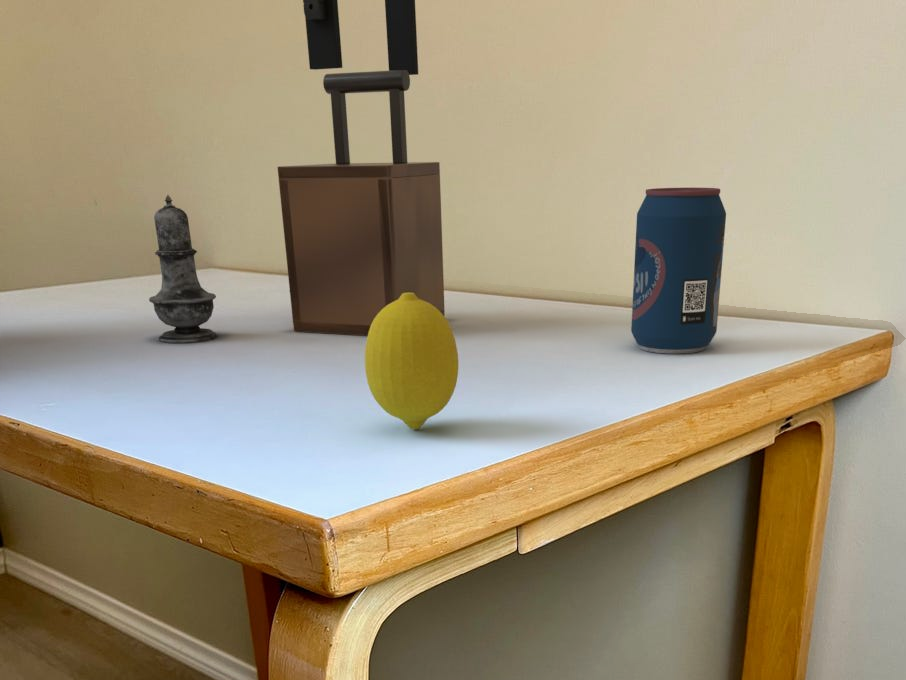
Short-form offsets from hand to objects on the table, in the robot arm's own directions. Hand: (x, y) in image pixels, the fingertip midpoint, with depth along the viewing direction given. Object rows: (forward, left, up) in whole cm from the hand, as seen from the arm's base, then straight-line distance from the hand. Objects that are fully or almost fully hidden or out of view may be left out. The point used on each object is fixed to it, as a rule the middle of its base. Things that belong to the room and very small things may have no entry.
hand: (367, 72), depth 89 cm
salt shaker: (-13, -13, -21) cm, 28 cm away
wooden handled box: (0, -7, -11) cm, 13 cm away
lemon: (+22, -35, -21) cm, 47 cm away
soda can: (+30, -4, -21) cm, 37 cm away
